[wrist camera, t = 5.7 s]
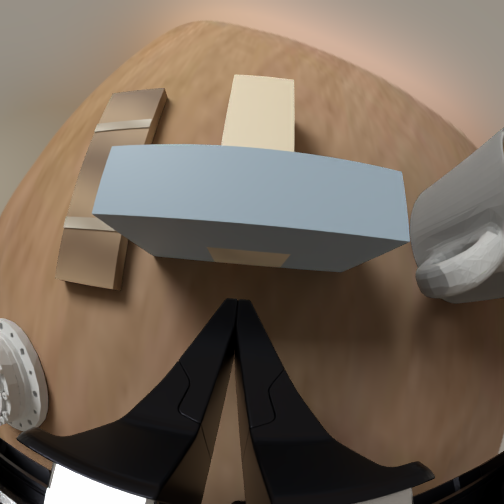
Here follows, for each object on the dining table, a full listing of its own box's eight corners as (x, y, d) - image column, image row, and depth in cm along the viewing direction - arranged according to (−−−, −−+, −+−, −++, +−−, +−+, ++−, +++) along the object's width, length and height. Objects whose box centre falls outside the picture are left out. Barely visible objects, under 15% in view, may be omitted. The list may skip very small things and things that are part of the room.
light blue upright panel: (340, 272, 17) (409, 241, 9) (153, 256, 17) (91, 213, 9) (334, 123, 19) (367, 49, 12) (186, 109, 19) (167, 31, 11)
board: (120, 290, 16) (112, 289, 15) (64, 280, 16) (54, 278, 15) (167, 97, 19) (164, 87, 18) (117, 101, 19) (112, 92, 18)
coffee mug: (464, 180, 19) (531, 130, 9) (496, 281, 17) (576, 260, 7) (354, 202, 18) (434, 115, 8) (395, 340, 16) (509, 351, 6)
